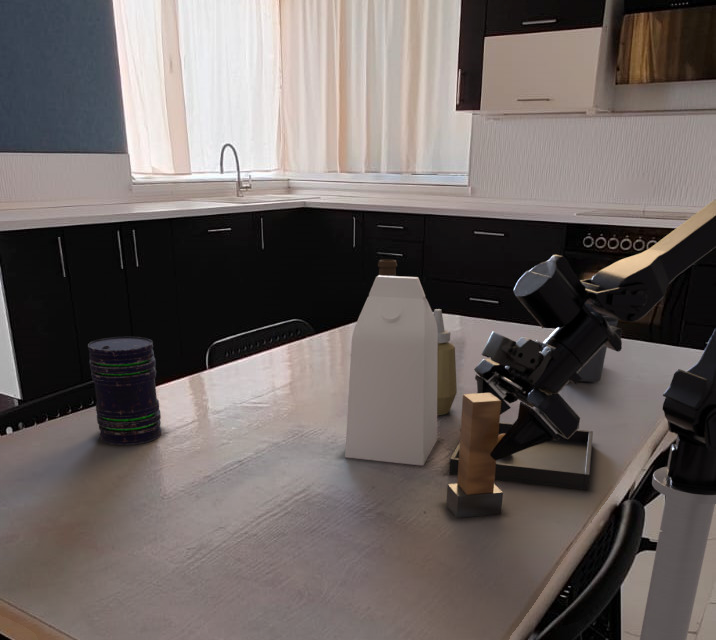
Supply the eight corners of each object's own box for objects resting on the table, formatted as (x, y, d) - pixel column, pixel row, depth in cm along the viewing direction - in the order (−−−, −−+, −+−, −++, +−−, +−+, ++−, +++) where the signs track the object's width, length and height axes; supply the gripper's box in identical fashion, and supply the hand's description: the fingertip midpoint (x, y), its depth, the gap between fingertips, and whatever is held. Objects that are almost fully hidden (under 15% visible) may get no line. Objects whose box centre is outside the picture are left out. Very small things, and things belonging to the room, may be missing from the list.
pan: (591, 444, 122) (592, 431, 121) (587, 490, 105) (589, 474, 104) (470, 432, 127) (471, 419, 126) (449, 473, 110) (449, 458, 109)
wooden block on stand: (489, 501, 102) (498, 391, 96) (501, 514, 98) (511, 400, 92) (446, 505, 100) (452, 394, 94) (456, 518, 97) (464, 403, 91)
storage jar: (132, 421, 131) (122, 334, 125) (175, 431, 126) (166, 341, 120) (86, 438, 123) (72, 345, 117) (130, 449, 119) (118, 353, 113)
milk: (436, 440, 123) (445, 273, 113) (423, 465, 113) (431, 284, 103) (364, 433, 126) (367, 270, 116) (344, 457, 116) (345, 280, 106)
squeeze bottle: (419, 419, 133) (423, 315, 126) (404, 406, 140) (407, 306, 133) (462, 416, 135) (469, 313, 128) (445, 403, 142) (451, 304, 135)
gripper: (493, 296, 100) (410, 385, 101) (567, 323, 83) (467, 429, 85) (542, 352, 105) (462, 436, 106) (621, 388, 88) (525, 487, 90)
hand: (476, 445), depth 97 cm, fingers open, 9 cm apart
